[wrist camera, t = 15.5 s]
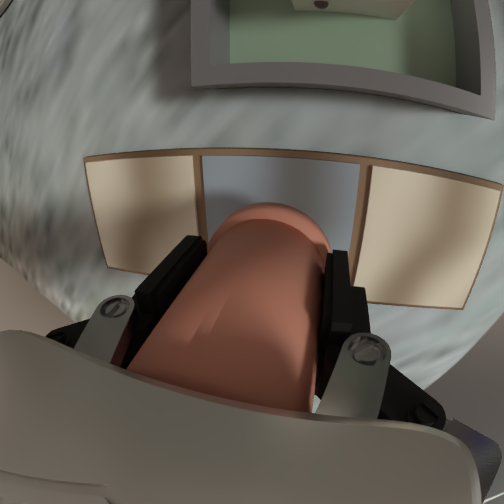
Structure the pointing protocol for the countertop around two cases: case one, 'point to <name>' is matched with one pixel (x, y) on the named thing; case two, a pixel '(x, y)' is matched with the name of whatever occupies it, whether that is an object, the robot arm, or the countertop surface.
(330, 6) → the die
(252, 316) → the pink cylinder
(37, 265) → the countertop surface
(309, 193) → the track
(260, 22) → the tray
